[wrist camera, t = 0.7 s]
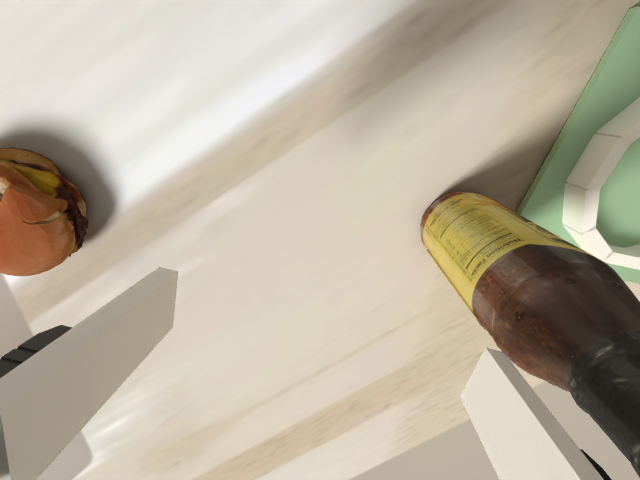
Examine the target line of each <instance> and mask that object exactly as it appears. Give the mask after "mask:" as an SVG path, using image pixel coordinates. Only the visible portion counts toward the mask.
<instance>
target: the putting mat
mask: <svg viewBox="0 0 640 480" xmlns="http://www.w3.org/2000/svg"><path fill="white" fill-rule="evenodd" d="M516 213H517V214H519V215H521V216H523V217H524V218H526V219H528V220H530V221H532V222H534V223H535V224H537V225H539V226H540V227H542V228H544V229H546V230H548V231H550V232H551V233H553V234H555V235H556V236H559V237H560V238H562V239H563V240H565V241H567V242H569V243H571V244H573V245H575V246H577V247H578V248H580V249H582V250H584V251H586V252H587V253H589V254H591V255H593V256H595V257H596V258H598V259H600V260H602V261H603V262H605V263H606V264H608V265H609V266H610V267H612V268H613V269H614V270H615V271H616V272H617V274H618V275H619V276H620V277H621V279H622V280H624V281H629V282H634V283H639V284H640V7H639V6H638V7H634V8H630V9H629V10H628V12H627V14H626V16H625V17H624V19H623V21H622V23H621V25H620V26H619V28H618V30H617V32H616V34H615V35H614V37H613V39H612V41H611V43H610V44H609V46H608V48H607V50H606V52H605V53H604V55H603V57H602V59H601V61H600V62H599V64H598V66H597V68H596V70H595V71H594V73H593V75H592V77H591V79H590V80H589V82H588V84H587V86H586V88H585V89H584V91H583V93H582V95H581V97H580V98H579V100H578V102H577V104H576V106H575V107H574V109H573V111H572V113H571V114H570V116H569V118H568V120H567V122H566V123H565V125H564V127H563V129H562V131H561V132H560V134H559V136H558V138H557V140H556V141H555V143H554V145H553V147H552V149H551V150H550V152H549V154H548V156H547V158H546V159H545V161H544V163H543V165H542V167H541V168H540V170H539V172H538V174H537V176H536V177H535V179H534V181H533V183H532V185H531V186H530V188H529V190H528V192H527V194H526V195H525V197H524V199H523V201H522V203H521V204H520V206H519V208H518V210H517V212H516Z"/></svg>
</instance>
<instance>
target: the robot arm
mask: <svg viewBox="0 0 640 480" xmlns="http://www.w3.org/2000/svg"><path fill="white" fill-rule="evenodd" d="M177 277H178V271H174V270H170V269H166V268H162V267H159V268H158V269H156V270H155V271H153V272H152V273H150V274H149V275H148V276H146V277H145V278H143V279H142V280H140V281H139V282H137V283H136V284H135V285H133V286H132V287H130V288H129V289H127V290H126V291H125V292H123V293H122V294H120V295H119V296H117V297H116V298H115V299H113V300H112V301H110V302H109V303H107V304H106V305H105V306H103V307H102V308H100V309H99V310H97V311H96V312H95V313H93V314H92V315H90V316H89V317H87V318H86V319H85V320H83V321H82V322H80V323H79V324H77V325H76V326H75V327H73V328H71V327H67V326H63V325H60V326H57V327H54V328H52V329H49V330H47V331H44V332H41V333H39V334H37V335H35V336H34V337H32V338H31V339H29V340H27V341H26V342H25V343H23V344H21V345H20V346H19V347H18V348H17V349H14V350H12V351H10V352H9V353H7V354H6V355H4V356H2V358H1V359H0V480H36V479H37V478H38V477H39V476H40V475H41V474H42V473H43V471H44V470H45V469H46V468H47V467H48V466H49V465H50V464H51V462H52V461H53V460H54V459H55V458H56V457H57V456H58V455H59V454H60V453H61V451H62V450H63V449H64V448H65V447H66V446H67V445H68V443H70V441H71V440H72V439H73V438H74V437H75V436H76V435H77V434H78V432H79V431H80V430H81V429H82V428H83V427H84V426H85V425H86V424H87V422H88V421H89V420H90V419H91V418H92V417H93V416H94V415H95V413H96V412H97V411H98V410H99V409H100V408H101V407H102V406H103V405H104V403H105V402H106V401H107V400H108V399H109V398H110V397H111V396H112V394H113V393H114V392H115V391H116V390H117V389H118V388H119V387H120V386H121V384H122V383H123V382H124V381H125V380H126V379H127V378H128V377H129V375H130V374H131V373H132V372H133V371H134V370H135V369H136V368H137V367H138V365H139V364H140V363H141V362H142V361H143V360H144V359H145V358H146V356H147V355H148V354H149V353H150V352H151V351H152V350H153V349H154V347H155V346H156V345H157V344H158V343H159V342H160V341H161V340H162V339H163V337H164V336H165V335H166V334H167V333H168V332H169V331H170V330H171V328H172V327H173V319H174V309H175V298H176V288H177ZM460 398H461V400H462V402H463V404H464V407H465V409H466V411H467V413H468V415H469V417H470V419H471V421H472V423H473V425H474V427H475V430H476V431H477V434H478V436H479V438H480V440H481V442H482V444H483V446H484V448H485V450H486V452H487V455H488V456H489V459H490V461H491V463H492V465H493V467H494V469H495V471H496V473H497V475H498V478H499V480H611V479H610V477H609V476H608V475H607V474H606V472H605V471H604V470H603V469H602V468H601V467H600V466H599V465H598V464H597V463H596V462H595V461H594V460H593V459H592V458H591V457H589V456H588V455H587V454H586V453H585V452H584V451H583V450H581V449H579V448H578V446H577V445H576V444H575V443H574V441H573V440H572V439H571V437H570V436H569V435H568V434H567V432H566V431H565V430H564V429H563V427H562V426H561V425H560V424H559V422H558V421H557V420H556V418H555V417H554V416H553V415H552V413H551V412H550V411H549V410H548V408H547V407H546V406H545V404H544V403H543V402H542V401H541V399H540V398H539V397H538V396H537V395H536V393H535V392H534V391H533V389H532V388H531V387H530V385H529V384H528V383H527V382H526V380H525V379H524V378H523V377H522V375H521V374H520V373H519V371H518V370H517V369H516V368H515V366H514V365H513V364H512V363H511V361H510V360H509V359H508V358H507V356H506V355H505V354H504V352H501V351H496V350H492V349H488V348H485V350H484V352H483V354H482V356H481V358H480V360H479V362H478V364H477V366H476V367H475V369H474V371H473V373H472V375H471V377H470V379H469V381H468V383H467V385H466V386H465V388H464V390H463V392H462V394H461V396H460Z"/></svg>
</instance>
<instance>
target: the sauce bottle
mask: <svg viewBox="0 0 640 480" xmlns="http://www.w3.org/2000/svg"><path fill="white" fill-rule="evenodd" d="M421 238H422V242H423V244H424V245H425V247H426V248H427V251H428V253H429V254H430V256H431V257H432V259H433V260H434V261H435V263H436V264H437V266H438V267H439V268H440V270H441V271H442V273H443V274H444V275H445V277H446V278H447V280H448V281H449V282H450V284H451V285H452V286H453V288H454V289H455V290H456V292H457V293H458V294H459V296H460V297H461V299H462V300H463V302H464V303H465V304H466V306H467V307H468V309H469V310H470V311H471V313H472V314H473V315H474V317H475V318H476V319H477V321H478V322H479V323H480V325H481V326H482V327H483V328H484V329H485V330H487V331H488V332H489V334H490V335H491V336H492V337H493V339H494V341H495V342H496V344H497V346H498V347H499V348H500V349H501V350H502V352H504V354H505V355H506V356H507V357H508V358H509V359H510V360H511V361H512V362H513V363H515V364H516V365H517V366H518V367H520V368H521V369H523V370H524V371H526V372H527V373H529V374H531V375H533V376H536V377H538V378H540V379H543V380H545V381H547V382H548V383H550V384H552V385H555V386H558V387H560V388H562V389H563V390H566V391H569V392H570V393H571V395H572V397H573V398H574V400H575V402H576V404H577V405H578V406H579V407H580V408H581V409H582V410H583V411H585V412H586V413H588V414H589V415H590V416H591V417H592V418H593V420H594V421H595V422H596V423H597V424H598V425H599V426H600V428H601V429H602V430H603V431H604V432H605V433H606V434H607V436H608V437H609V438H610V439H611V440H612V441H613V443H614V444H615V445H616V446H617V447H618V449H619V450H620V451H621V452H622V453H623V454H624V455H625V457H626V458H627V459H628V460H629V461H630V462H631V464H632V466H633V468H634V469H635V471H636V472H637V474H638V475H639V477H640V302H639V300H638V299H637V298H636V297H635V295H634V294H633V293H632V291H631V290H630V289H629V288H628V286H627V285H626V284H625V283H624V281H623V280H622V279H621V277H620V276H619V275H618V274H617V272H616V271H615V270H614V269H613V268H612V267H610V266H609V265H608V264H606V263H605V262H603V261H602V260H600V259H598V258H596V257H595V256H593V255H591V254H589V253H587V252H586V251H584V250H582V249H580V248H578V247H577V246H575V245H573V244H571V243H569V242H567V241H565V240H563V239H562V238H560V237H559V236H556V235H555V234H553V233H551V232H550V231H548V230H546V229H544V228H542V227H540V226H539V225H537V224H535V223H534V222H532V221H530V220H528V219H526V218H524V217H523V216H521V215H519V214H517V213H515V212H513V211H512V210H510V209H508V208H506V207H505V206H503V205H501V204H499V203H497V202H496V201H494V200H492V199H490V198H488V197H486V196H484V195H480V194H478V193H471V192H454V193H449V194H446V195H444V196H442V197H441V198H439V199H438V200H436V201H435V202H434V203H433V204H432V205H431V206H430V207H429V208H428V210H427V211H426V212H425V213H424V215H423V216H422V222H421Z"/></svg>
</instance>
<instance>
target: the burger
mask: <svg viewBox="0 0 640 480" xmlns="http://www.w3.org/2000/svg"><path fill="white" fill-rule="evenodd" d="M87 225H88V219H87V218H86V203H85V202H84V201H83V199H82V197H81V195H80V192H79V191H78V189H77V188H76V186H75V185H74V184H72V183H70V182H69V181H68V180H66V179H65V178H63V177H62V176H61V174H60V173H59V172H58V169H57V167H56V166H55V165H54V164H53V162H52V161H50V160H48V159H47V158H45V157H43V156H41V155H39V154H37V153H34V152H31V151H26V150H23V149H17V148H10V149H6V148H0V273H3V274H7V275H14V276H30V275H36V274H40V273H42V272H45V271H48V270H50V269H52V268H54V267H55V266H57V265H59V264H61V263H63V261H64V260H65V259H66V258H67V257H68V256H69V257H70V256H71V254H72V253H74V252H77V251H78V250H79V248H81V247H82V244H83V240H84V236H85V235H86V228H88V226H87Z"/></svg>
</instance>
